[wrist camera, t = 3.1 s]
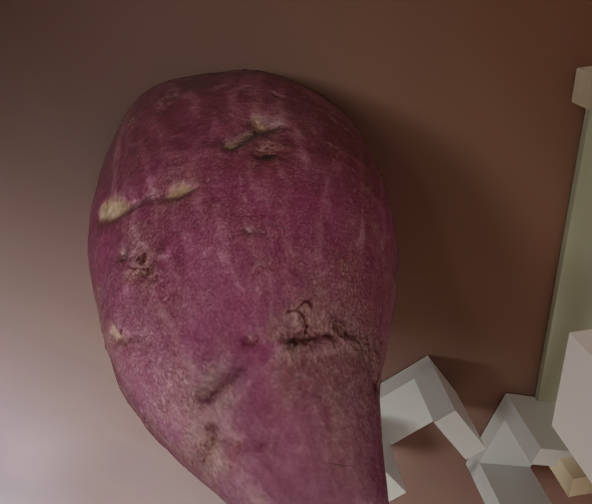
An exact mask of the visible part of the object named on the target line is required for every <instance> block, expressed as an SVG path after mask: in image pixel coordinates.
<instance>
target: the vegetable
mask: <svg viewBox="0 0 592 504" xmlns="http://www.w3.org/2000/svg"><path fill="white" fill-rule="evenodd" d="M88 261H89V268H90V275H91V280H92V285H93V291H94V297H95V300H96V303H97V307H98V312H99V319H100V323H101V330H102V333H103V337H104V341H105V348H106V350H107V352H108V354H109V356H110V359H111V362H112V366H113V369H114V373H115V376H116V379H117V382H118V385H119V388H120V390H121V392H122V393H123V395H124V397H125V399H126V400H127V402H128V404H129V405H130V406H131V407H132V409H133V410H134V411H135V412H136V414H137V415H138V416H139V418H140V419H141V420H142V422H143V424H144V426H145V427H146V429H147V430H148V431H149V432H150V433H151V434H152V435H153V436H154V438H155V439H156V440H157V441H158V442H159V443H160V444H161V445H162V446H163V447H165V448H166V449H167V450H168V451H169V452H170V453H171V454H172V455H173V456H174V457H175V459H176V460H177V461H178V462H179V463H180V464H181V465H183V466H184V467H185V468H186V469H187V470H188V471H190V472H191V473H192V474H193V475H194V476H195V477H196V478H198V479H199V480H200V481H201V482H202V483H204V484H205V485H206V486H207V487H208V488H210V489H211V490H212V491H213V492H215V493H216V494H217V495H218V496H219V497H220V498H221V499H222V500H224V501H225V502H226V503H227V504H389V500H388V488H387V480H386V473H385V464H384V453H383V441H382V426H381V409H380V387H381V374H382V369H383V365H384V360H385V355H386V350H387V345H388V340H389V335H390V330H391V325H392V316H393V312H394V308H395V302H396V293H397V292H396V288H397V267H398V264H397V242H396V234H395V226H394V220H393V214H392V208H391V203H390V199H389V195H388V193H387V190H386V187H385V184H384V181H383V178H382V175H381V173H380V170H379V167H378V165H377V163H376V161H375V159H374V158H373V155H372V153H371V151H370V149H369V147H368V146H367V144H366V142H365V141H364V139H363V137H362V136H361V134H360V133H359V131H358V130H357V129H356V127H355V126H354V124H353V123H352V122H351V121H350V119H349V118H348V117H347V116H346V115H345V114H344V113H342V112H341V111H340V110H339V109H338V108H337V107H336V106H334V105H333V104H331V103H330V102H329V101H328V100H326V99H325V98H324V96H323V95H318V94H316V93H315V92H313V91H311V90H309V89H308V88H305V87H303V86H301V85H299V84H297V83H295V82H293V81H290V80H287V79H285V78H282V77H280V76H278V75H274V74H270V73H267V72H263V71H251V70H246V69H244V70H233V71H227V72H220V73H207V74H201V75H195V76H189V77H184V78H179V79H174V80H169V81H167V82H164V83H161V84H159V85H157V86H155V87H153V88H151V89H149V90H148V91H146V92H145V93H144V94H142V95H141V96H140V97H139V98H138V99H137V100H136V101H135V102H134V103H133V105H132V106H131V107H130V109H129V111H128V112H127V114H126V116H125V118H124V120H123V122H122V124H121V126H120V128H119V130H118V132H117V134H116V136H115V138H114V140H113V142H112V144H111V146H110V148H109V150H108V152H107V154H106V157H105V160H104V163H103V166H102V170H101V173H100V176H99V179H98V183H97V187H96V191H95V195H94V199H93V203H92V208H91V214H90V224H89V236H88Z"/></svg>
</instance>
